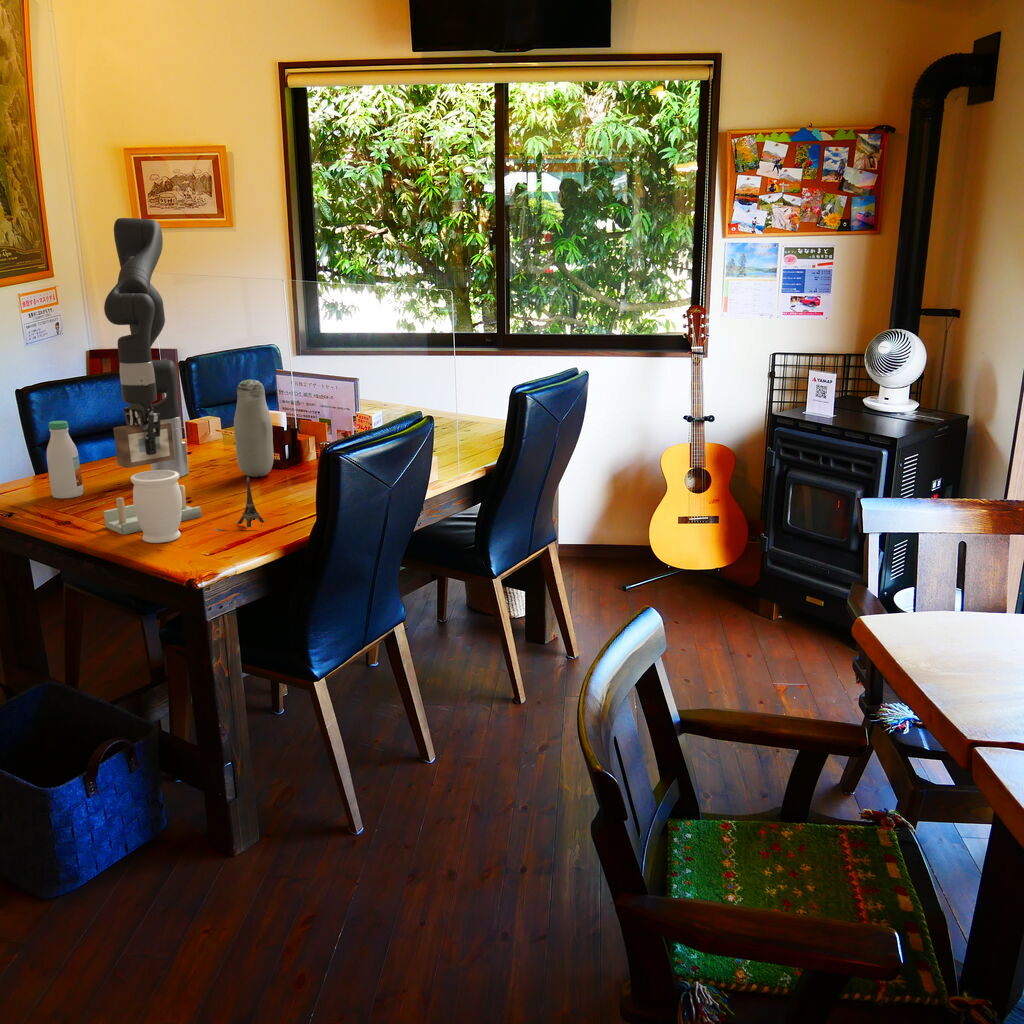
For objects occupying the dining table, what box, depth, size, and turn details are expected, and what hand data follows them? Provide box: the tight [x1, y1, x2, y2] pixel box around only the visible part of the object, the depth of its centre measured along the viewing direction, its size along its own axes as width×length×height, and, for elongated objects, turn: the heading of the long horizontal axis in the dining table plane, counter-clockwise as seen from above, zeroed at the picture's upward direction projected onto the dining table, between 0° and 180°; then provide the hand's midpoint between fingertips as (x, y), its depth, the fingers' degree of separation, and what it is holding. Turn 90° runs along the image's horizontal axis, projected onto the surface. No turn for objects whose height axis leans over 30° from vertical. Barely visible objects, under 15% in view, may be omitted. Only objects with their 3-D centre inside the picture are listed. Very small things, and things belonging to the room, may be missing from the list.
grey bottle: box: [233, 379, 275, 478], centre depth 263 cm, size 10×10×28 cm
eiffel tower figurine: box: [214, 473, 265, 532], centre depth 221 cm, size 15×10×13 cm
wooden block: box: [112, 420, 175, 469], centre depth 219 cm, size 12×5×9 cm, turn 138°
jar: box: [130, 470, 182, 544], centre depth 210 cm, size 11×10×15 cm
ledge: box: [103, 484, 202, 536], centre depth 223 cm, size 20×9×8 cm, turn 138°
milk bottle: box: [46, 420, 84, 500], centre depth 243 cm, size 8×8×20 cm
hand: (146, 452), depth 219 cm, fingers closed on wooden block, 4 cm apart
